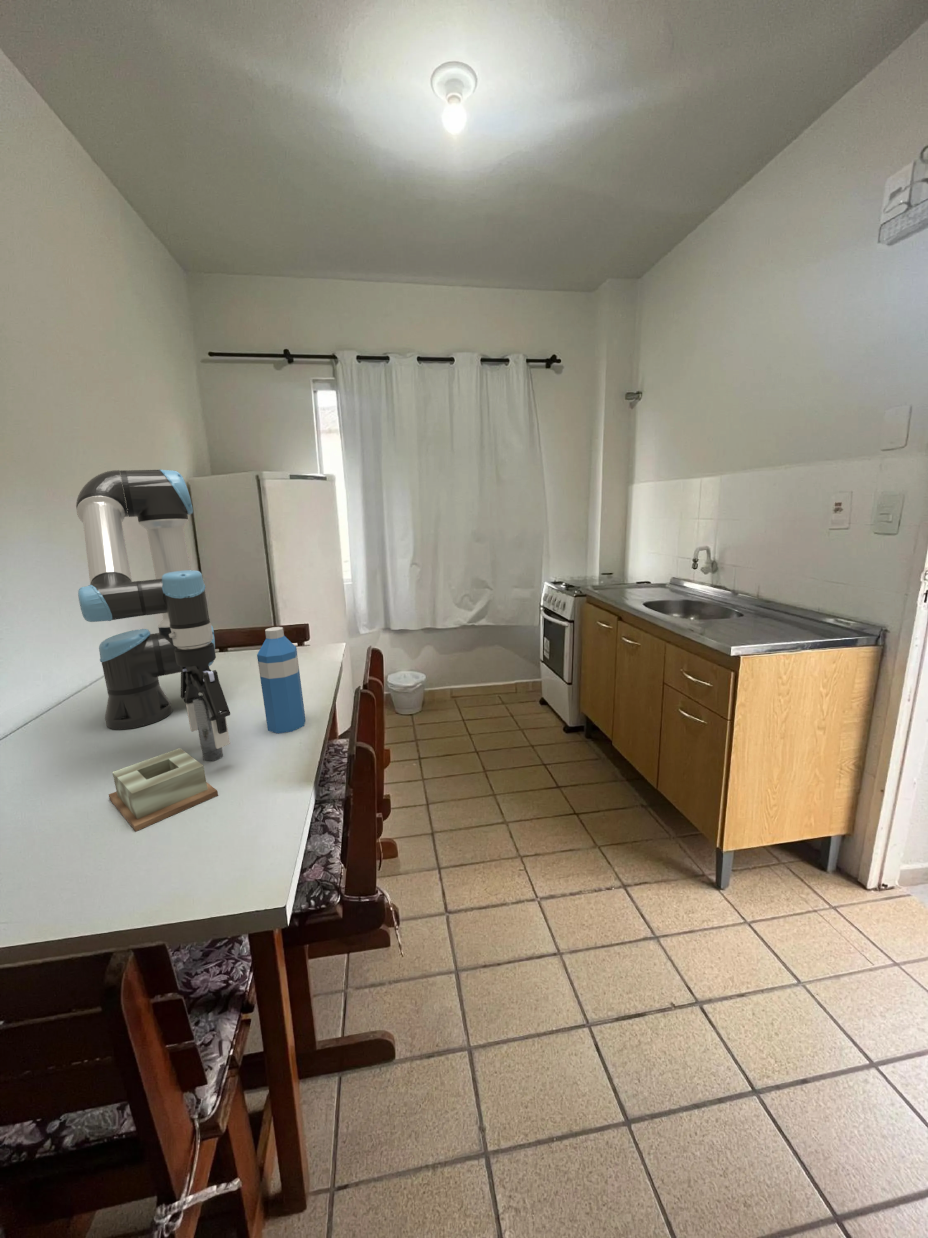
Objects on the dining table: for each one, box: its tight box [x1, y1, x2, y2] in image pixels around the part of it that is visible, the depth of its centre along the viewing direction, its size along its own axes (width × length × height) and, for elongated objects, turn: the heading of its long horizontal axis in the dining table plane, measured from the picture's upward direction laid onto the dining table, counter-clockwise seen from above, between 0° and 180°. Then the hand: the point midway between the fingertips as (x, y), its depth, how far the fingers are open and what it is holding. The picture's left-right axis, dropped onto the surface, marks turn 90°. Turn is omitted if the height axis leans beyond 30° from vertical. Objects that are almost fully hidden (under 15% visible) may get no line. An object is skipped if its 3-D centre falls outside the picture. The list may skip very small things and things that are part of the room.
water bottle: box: [256, 626, 306, 734], centre depth 126 cm, size 9×9×25 cm
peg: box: [193, 694, 224, 763], centre depth 112 cm, size 4×4×14 cm
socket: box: [108, 747, 219, 832], centre depth 98 cm, size 16×14×6 cm
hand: (209, 737), depth 112 cm, fingers open, 13 cm apart
